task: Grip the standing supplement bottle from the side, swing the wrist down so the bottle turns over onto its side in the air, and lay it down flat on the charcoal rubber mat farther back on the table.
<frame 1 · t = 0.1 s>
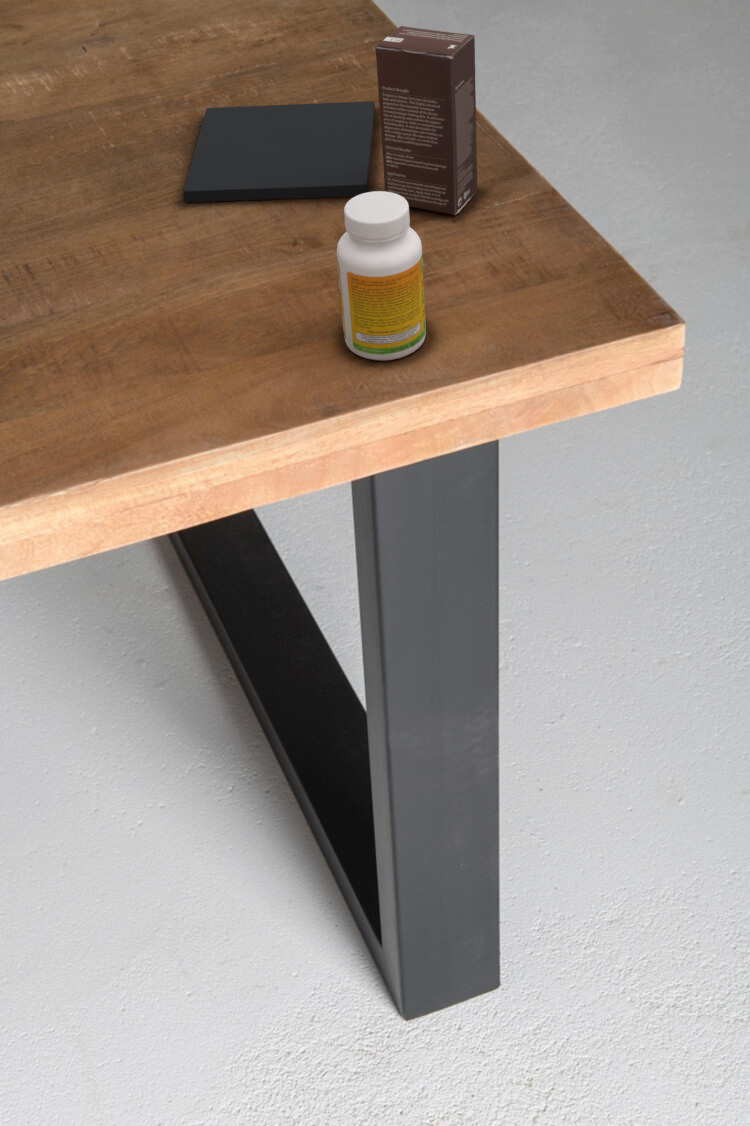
supplement bottle: (385, 341, 93), on the table
box: (431, 199, 106), on the table
charcoal mat: (283, 155, 112), on the table
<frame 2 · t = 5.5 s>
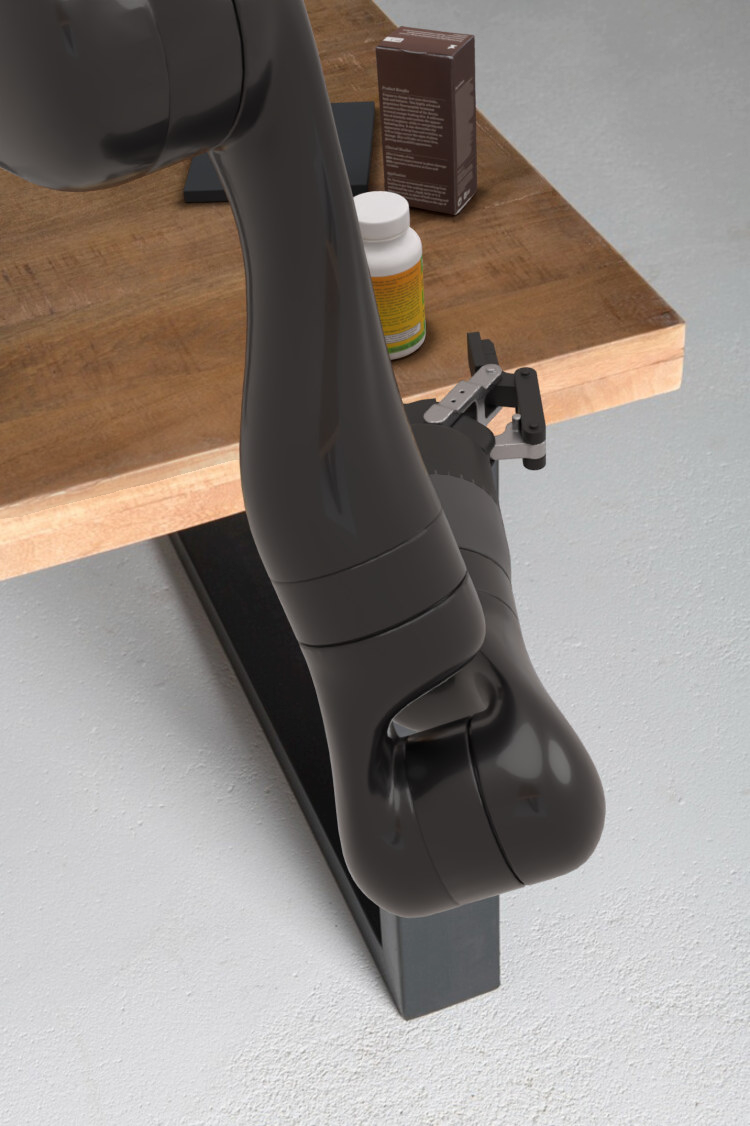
hand: (398, 353, 80), 6 cm above the table, tool horizontal, fingers open, 8 cm apart
nothing on the table moved.
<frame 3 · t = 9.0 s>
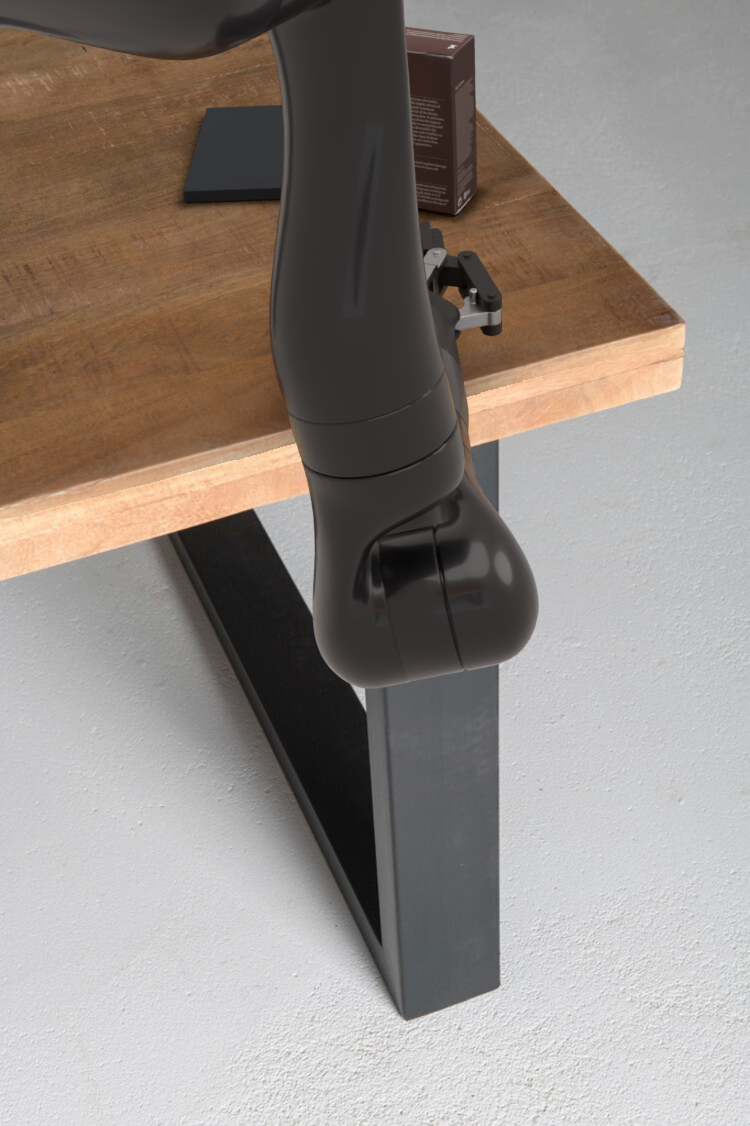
hand: (377, 238, 91), 6 cm above the table, tool horizontal, fingers closed on supplement bottle, 5 cm apart
supplement bottle: (385, 341, 93), on the table, touching gripper
everything else where it was.
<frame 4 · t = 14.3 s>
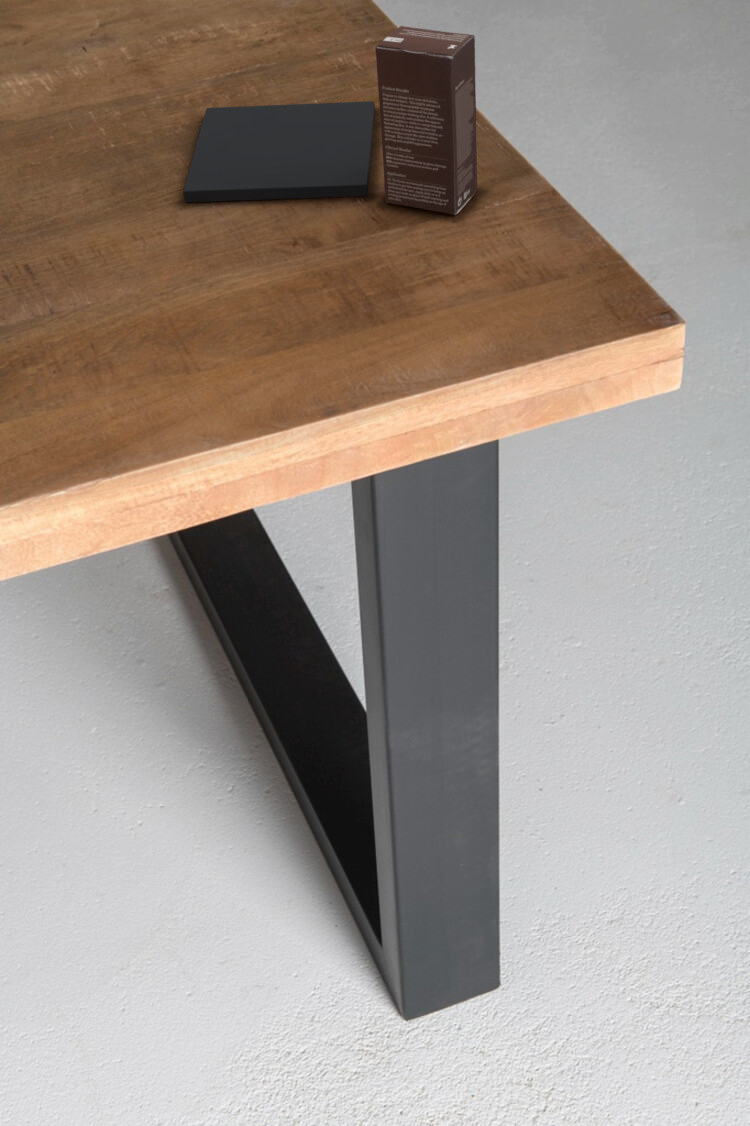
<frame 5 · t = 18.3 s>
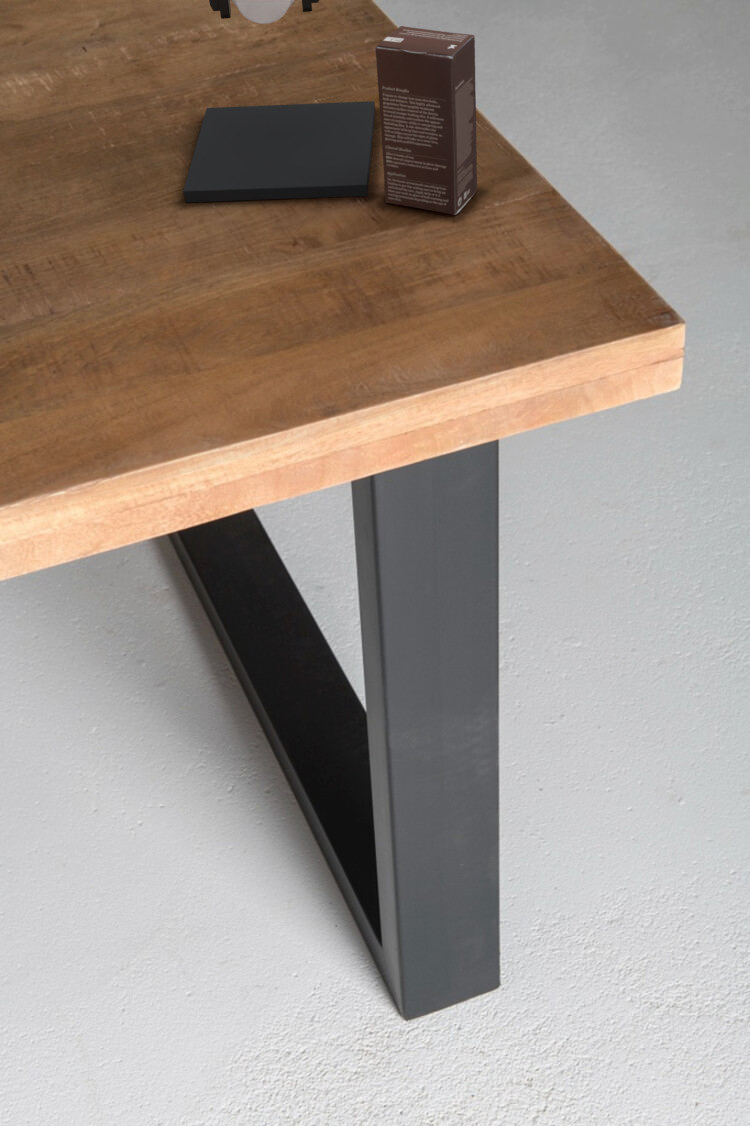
hand: (267, 10, 104), 12 cm above the table, tool pointing down, fingers closed on supplement bottle, 5 cm apart
when the fingers open (1 cm above the table, at t = 21.6 s): supplement bottle stays where it is, resting on charcoal mat.
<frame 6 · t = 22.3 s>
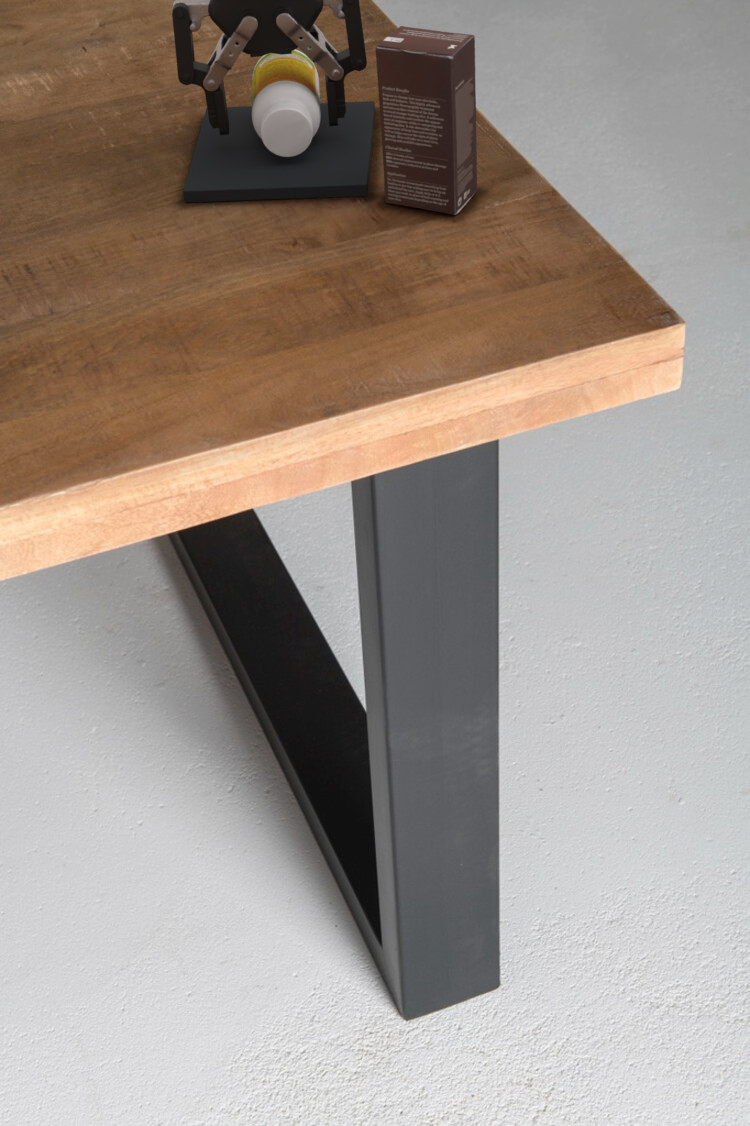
hand: (279, 126, 111), 3 cm above the table, tool pointing down, fingers open, 8 cm apart
supplement bottle: (285, 77, 114), point 4 cm above the table, touching charcoal mat
everything else where it was.
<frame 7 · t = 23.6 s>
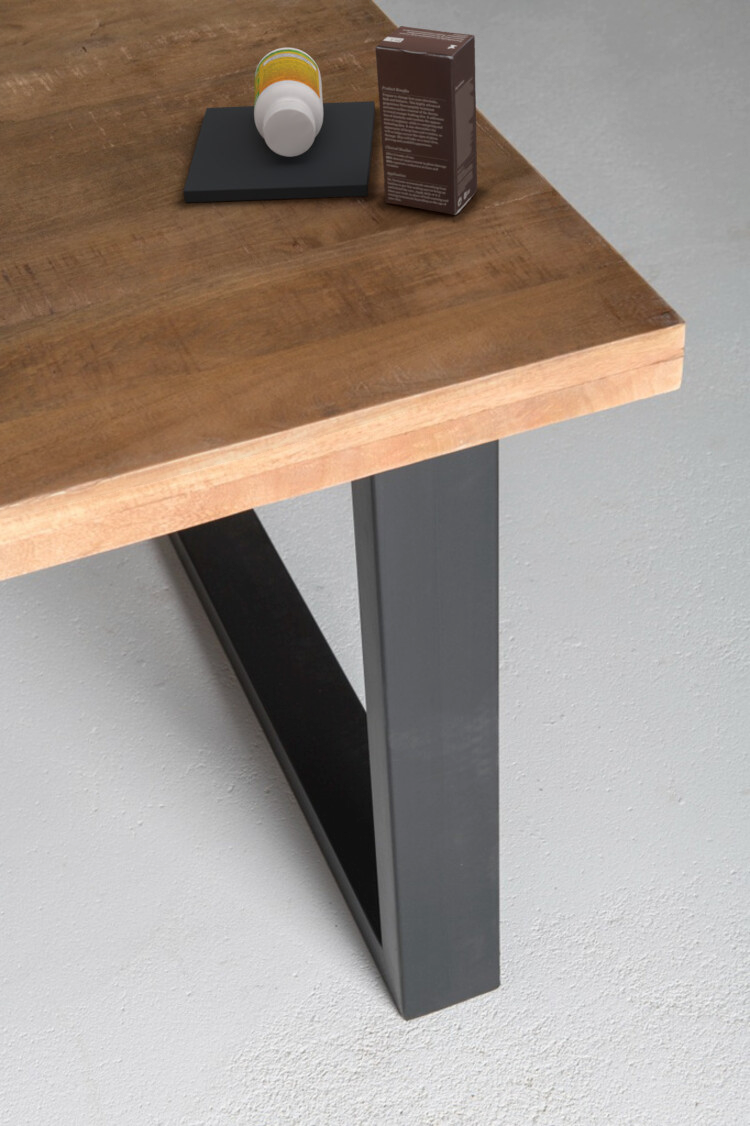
nothing on the table moved.
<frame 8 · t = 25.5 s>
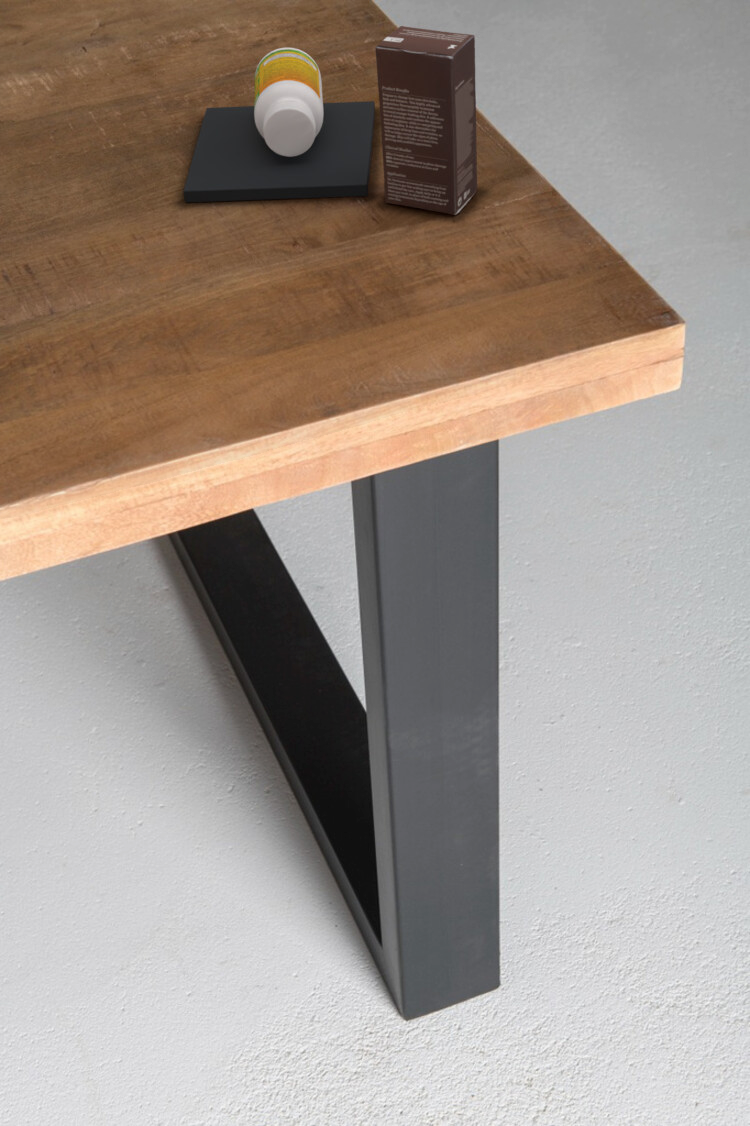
nothing on the table moved.
at the end: supplement bottle tilted 90°; supplement bottle inside the target area on the charcoal mat (6.2 cm from its centre), point 3.7 cm above the charcoal mat's base; the gripper is holding nothing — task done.
